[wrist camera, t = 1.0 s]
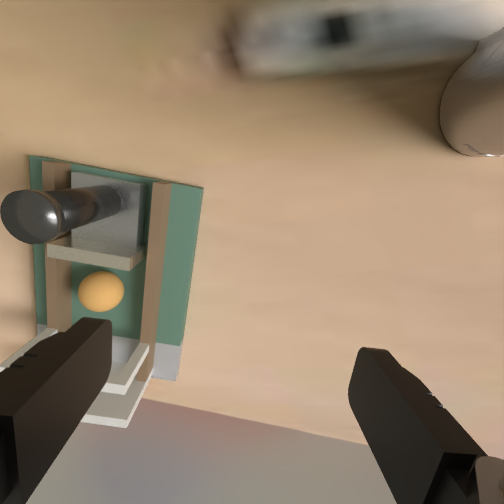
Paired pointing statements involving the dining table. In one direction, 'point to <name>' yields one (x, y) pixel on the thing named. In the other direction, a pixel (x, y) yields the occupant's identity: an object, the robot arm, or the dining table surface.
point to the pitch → (135, 289)
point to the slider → (83, 220)
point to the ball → (101, 291)
